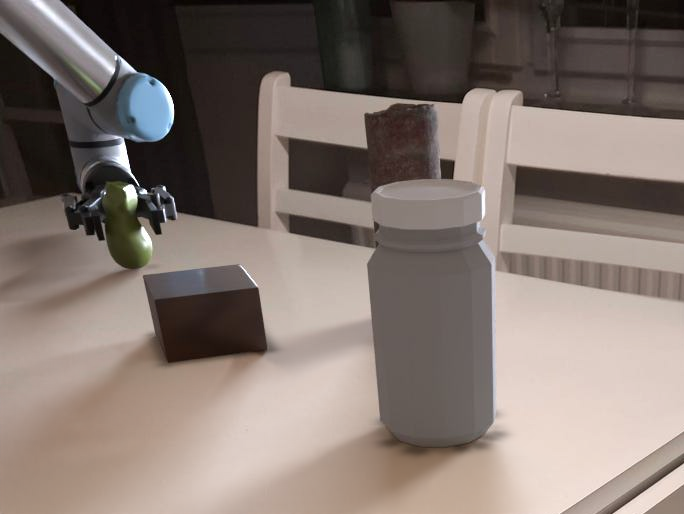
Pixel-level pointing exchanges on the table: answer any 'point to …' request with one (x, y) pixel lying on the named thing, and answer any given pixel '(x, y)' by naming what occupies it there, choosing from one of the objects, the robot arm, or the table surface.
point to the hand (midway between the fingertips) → (128, 225)
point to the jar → (433, 312)
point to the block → (205, 312)
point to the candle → (402, 145)
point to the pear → (125, 227)
